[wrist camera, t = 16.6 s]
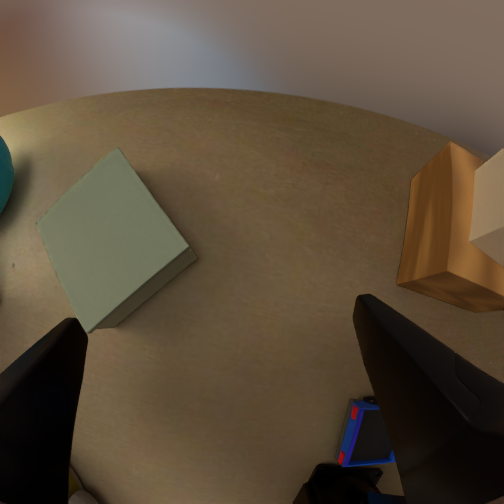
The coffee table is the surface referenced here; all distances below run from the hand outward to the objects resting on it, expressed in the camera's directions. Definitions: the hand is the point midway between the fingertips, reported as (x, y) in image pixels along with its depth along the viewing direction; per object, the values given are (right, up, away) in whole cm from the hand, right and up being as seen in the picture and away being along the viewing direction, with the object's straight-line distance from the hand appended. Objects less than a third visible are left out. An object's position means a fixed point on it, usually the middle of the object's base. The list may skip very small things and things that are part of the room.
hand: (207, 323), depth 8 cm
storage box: (-9, +3, +13) cm, 16 cm away
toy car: (+14, -12, +10) cm, 21 cm away
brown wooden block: (+19, +3, +13) cm, 23 cm away
